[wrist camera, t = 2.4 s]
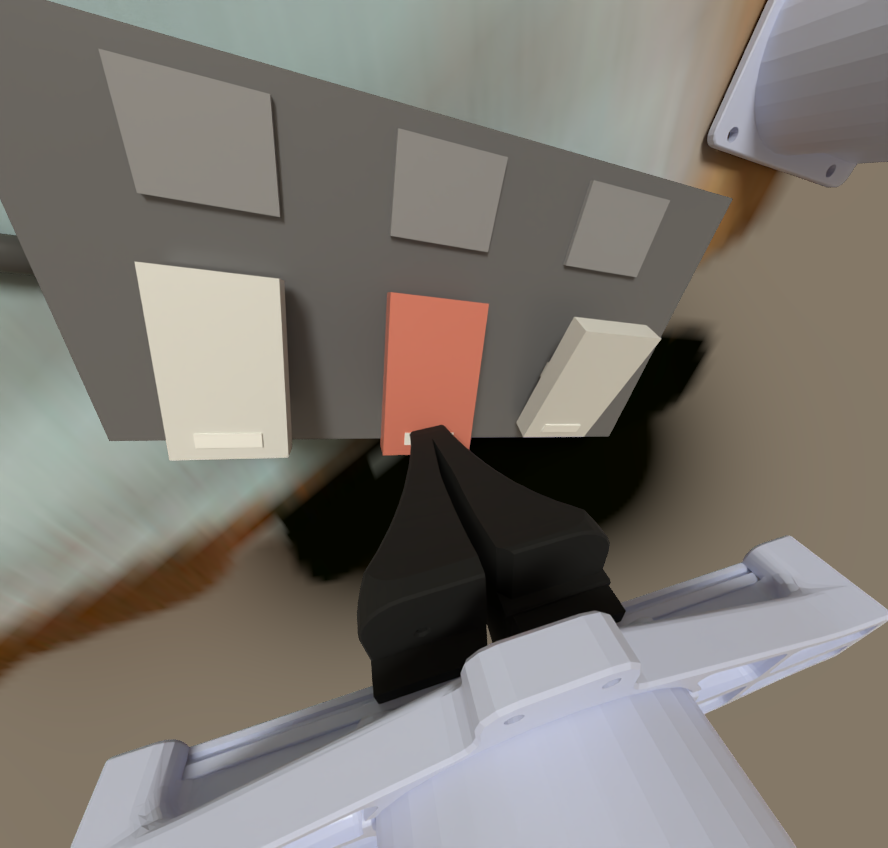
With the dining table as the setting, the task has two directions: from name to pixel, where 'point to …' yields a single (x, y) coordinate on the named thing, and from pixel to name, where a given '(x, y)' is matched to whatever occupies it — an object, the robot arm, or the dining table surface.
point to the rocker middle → (430, 367)
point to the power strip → (310, 218)
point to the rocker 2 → (585, 376)
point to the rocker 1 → (218, 361)
